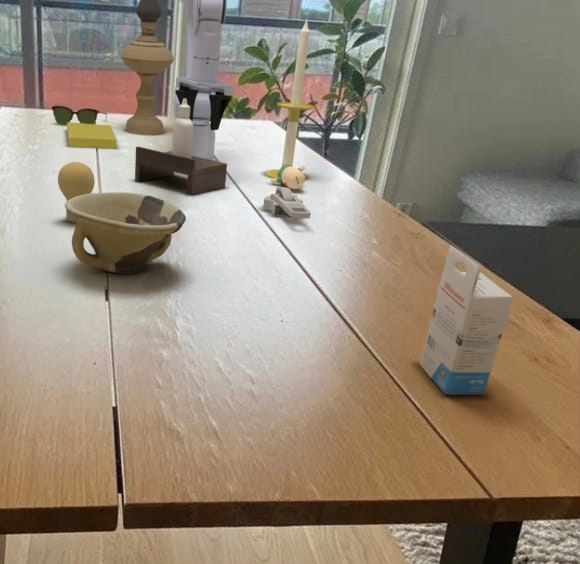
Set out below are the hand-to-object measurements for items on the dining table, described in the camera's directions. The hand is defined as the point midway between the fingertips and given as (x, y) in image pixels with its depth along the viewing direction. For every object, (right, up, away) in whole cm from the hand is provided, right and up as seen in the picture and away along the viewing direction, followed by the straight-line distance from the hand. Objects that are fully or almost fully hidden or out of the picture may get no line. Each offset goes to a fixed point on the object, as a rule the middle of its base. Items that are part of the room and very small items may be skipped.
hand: (201, 127), depth 171 cm
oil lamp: (-15, +23, +52) cm, 59 cm away
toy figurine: (+20, -13, +2) cm, 24 cm away
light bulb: (-24, -32, -32) cm, 51 cm away
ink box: (+27, -67, -80) cm, 108 cm away
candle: (+21, -6, +12) cm, 25 cm away
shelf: (-5, -14, -2) cm, 15 cm away
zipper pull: (+16, -28, -21) cm, 38 cm away
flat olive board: (-29, +13, +37) cm, 48 cm away
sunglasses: (-34, +28, +59) cm, 73 cm away
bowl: (-14, -46, -53) cm, 72 cm away
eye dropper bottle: (-5, -10, -5) cm, 12 cm away
